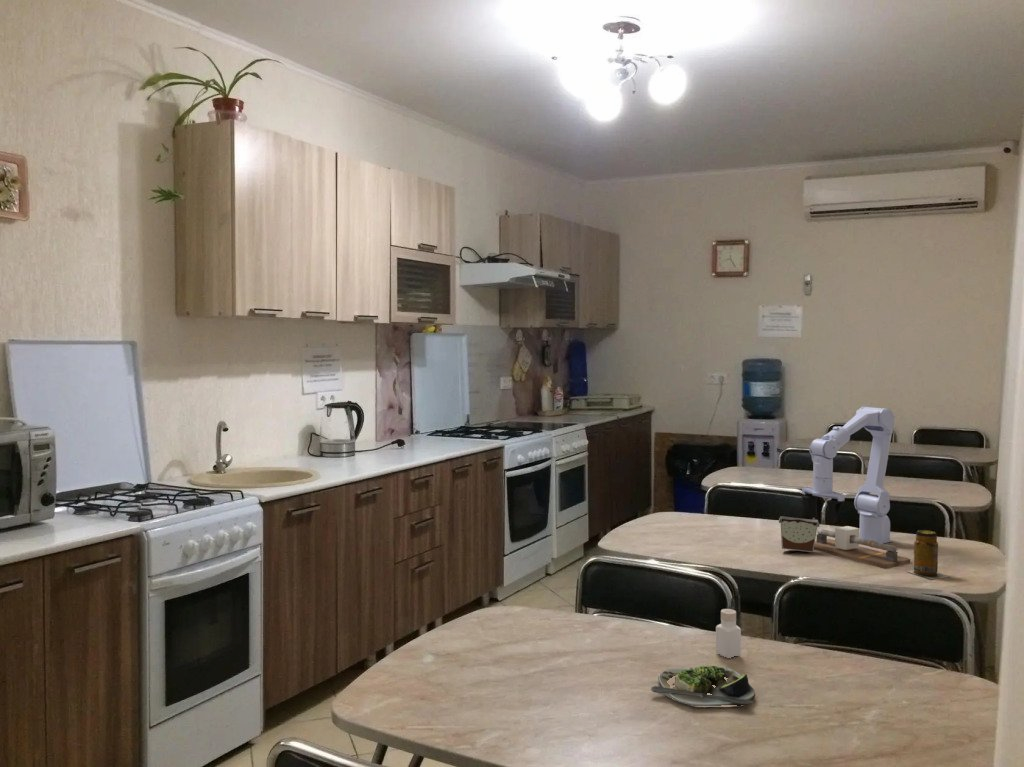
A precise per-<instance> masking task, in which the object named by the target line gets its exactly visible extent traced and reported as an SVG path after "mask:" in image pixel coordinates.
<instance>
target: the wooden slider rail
mask: <svg viewBox="0 0 1024 767" xmlns="http://www.w3.org/2000/svg"><path fill="white" fill-rule="evenodd" d="M828 537H830V538H828ZM831 538H835V531H831V530H828V529H823V528H819V527H818V528H817V531H816V540H815V544H814V550H813V551H818V552H821V553H825V554H829V555H833V556H838V557H841V558H845V559H848V560H852V561H855V562H856V561H857V562H860V563H863V564H867V565H871V566H875V567H879V568H881V569H882V568H883V569H888V568H891V567H897V566H900V565H901V566H902V565H906V564H909V563H911V558H908V557H904V556H899V555H898V551H897V550H898V548H897V546H896V545H892V544H891V545H890V544H887V543H879V542H875V541H872V540H871V541H870V540H866V539H862V538H858V537H854V536H850V542H854V543H858V544H859V548H854V549H849V550H844V549H840V548H836V547H835V539H831ZM861 545H862V546H861ZM863 546H867V547H869V548H867V547H863ZM872 548H874V549H872ZM875 549H879V550H883V551H879V550H875Z"/></svg>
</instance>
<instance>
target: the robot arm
mask: <svg viewBox="0 0 1024 767" xmlns="http://www.w3.org/2000/svg"><path fill="white" fill-rule="evenodd" d="M895 420H896V416H895V415H894V413H893V411H892V409H890V408H883V407H881V408H880V407H871V406H861V407H860V408H858V409H857V410H856V412H855V415H854V416H853V417H852V418H851V419H849V420H848V421H847V422H846V423H845V424H844V425H843V426H833V427H832V430H830V431H829V432H828V433H826V434H824V435H823V436H822V437H821V438H815V439H813V440H812V442H811V443H810V444H809V447H808V451H809V454H810V455H811V461H812V463H813V464H812V465H813V466H812V467H813V468H812V469H813V473H812V474H813V476H812V478H813V479H812V487H802V488H801V494H802V497H801V498H802V500H803V502H804V503H805V506H806V509H807V512H808V513H807V514H808V515H809V519H816V518H817V506H818V501H819V497H820V498H824V499H829V500H826V503H827V504H826V505H827V507H828V508H827V509H828V514H829V515H828V518H829V519H828V520H829V523H830V524H833V523H837V519H838V515H839V513H840V510H841V509H842V506H843V505H844V504H845V494H844V493H839V492H836V491H834V490H833V486H834V485H833V482H834V480H833V479H834V478H833V476H834V474H833V473H834V472H833V471H834V469H833V468H834V458H835V457H836V456H837V454H838V451H839V450H840V448H841V447H843V446H844V445H846V444H847V443H848V442H849V441H850V440H851V436H852V435H853V434H855V433H856V432H858V431H860V430H861V429H863V428H864V429H865V430H866V431H867V432H869V433H870V434H871V436H872V443H871V447H870V448H871V449H870V454H869V462H868V467H867V472H866V479H865V483H864V484H863V485H861V486H859V487H858V490H857V493H856V495H855V497H854V501H853V505H854V508H855V510H856V511H857V514H859V538H862V539H866V540H870V541H871V540H872V541H875V542H879V543H883V544H887V543H891V542H893V539H891V520H890V518H889V516H888V515H887V514H888V513H889V511H890V509H891V503H890V501H891V500H890V495H891V494H890V493H889V492H888V490H887V489H886V488H885V487H884V484H885V478H886V472H887V466H888V461H889V453H890V447H891V441H892V434H893V431H894V424H895Z"/></svg>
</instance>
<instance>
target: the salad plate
mask: <svg viewBox="0 0 1024 767" xmlns="http://www.w3.org/2000/svg"><path fill="white" fill-rule="evenodd" d="M673 676H676V677H675V684H674V685H675V687H673V688H670V685H669V684H668V683H667V681H668V680H669V679H670V678H672V677H673ZM724 677H726V678H728V679H727V681H726V680H725V679H724ZM657 679H658V681H659V684H661V685H660V686H656V685H655V686H654V685H653V686H652V687H651V689H650V690H651V691H652V692H653V693H656V694H659V695H663V696H665V697H667V696H668V697H667V698H669V697H671V698H673V699H674V700H673V699H672V700H673V701H675V700H676V702H677V701H678V703H680V702H681V703H680V704H682V703H684V704H683V705H685V704H688V705H687V706H689V705H692V706H721V705H737V706H741V705H745V706H747V705H752V704H754V703H755V702H754V701H753V700H754V698H755V697H756V691H755V689H754V688H753V687H752V686H751V685H750V684H749V683H750V682H749V678H748V675H747V674H746V673H744V674H740V673H739V672H738V671H736V670H734V669H732V668H728V667H724V666H720V665H708V664H707V665H702V666H701V665H700V666H697V667H696V666H695V667H680V668H667V669H665V670H663V671H662V672H661V673H659V675H658V676H657ZM712 685H715V686H716V687H715V688H714V687H713V686H712ZM661 686H662V687H661ZM707 693H710V694H712V695H707ZM692 706H691V707H692ZM741 707H742V706H741Z"/></svg>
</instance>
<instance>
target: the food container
mask: <svg viewBox="0 0 1024 767" xmlns="http://www.w3.org/2000/svg"><path fill="white" fill-rule="evenodd" d="M778 523H780V536H781V537H780V539H781V540H780V541H781V549H782V550H790V551H799V552H808V553H809V552H810V553H814V551H815V550H814V544H815V541H816V539H817V530H818V528H819V527H820V522H819V520H818V519H812V518H809V519H808V518H799V517H789V516H782V515H781V516H780V517H779V519H778Z"/></svg>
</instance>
